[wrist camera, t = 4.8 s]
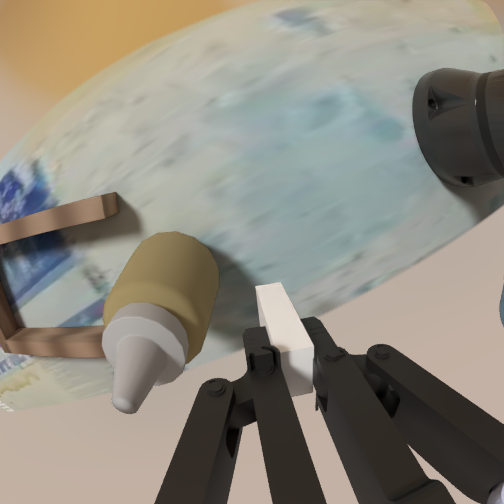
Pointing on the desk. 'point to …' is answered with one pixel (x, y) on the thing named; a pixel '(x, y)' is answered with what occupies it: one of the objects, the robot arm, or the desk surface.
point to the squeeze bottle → (158, 315)
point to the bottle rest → (62, 338)
